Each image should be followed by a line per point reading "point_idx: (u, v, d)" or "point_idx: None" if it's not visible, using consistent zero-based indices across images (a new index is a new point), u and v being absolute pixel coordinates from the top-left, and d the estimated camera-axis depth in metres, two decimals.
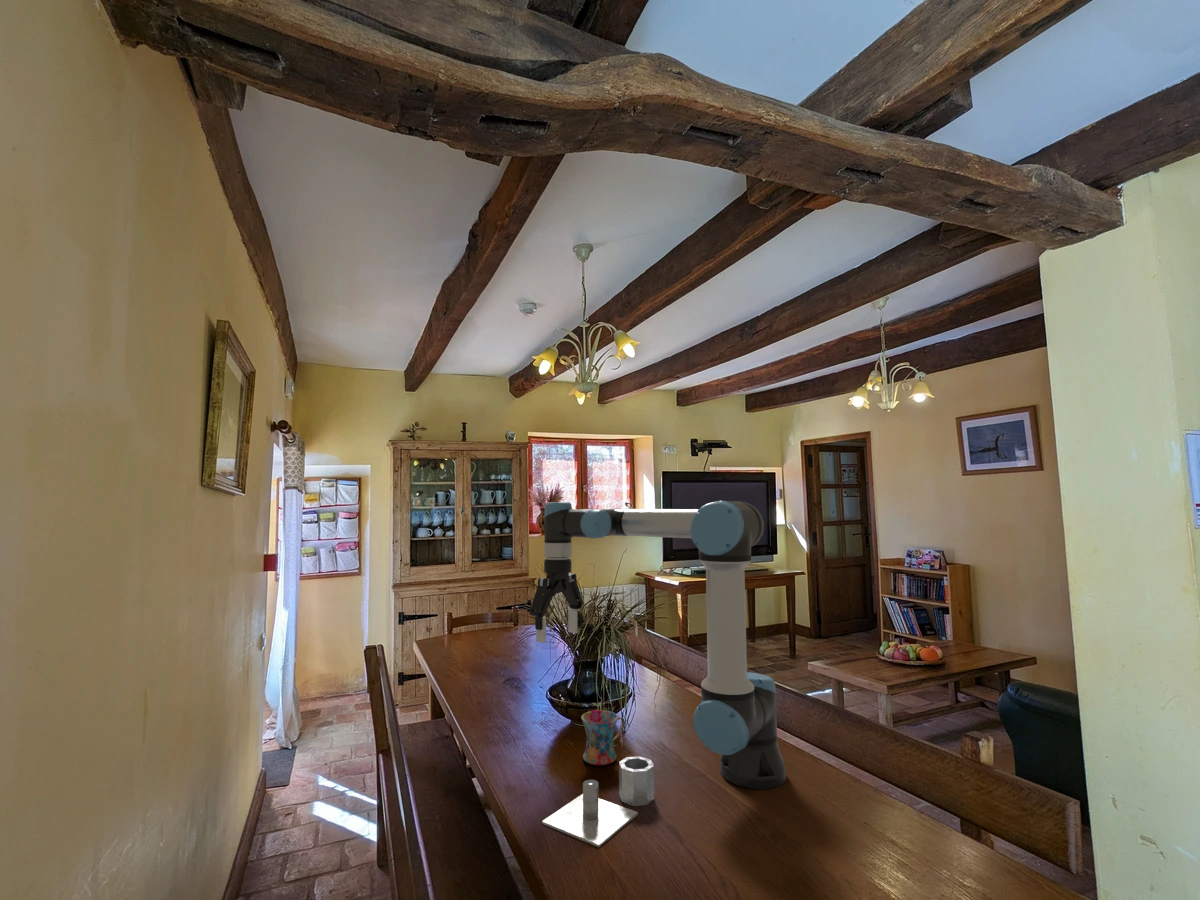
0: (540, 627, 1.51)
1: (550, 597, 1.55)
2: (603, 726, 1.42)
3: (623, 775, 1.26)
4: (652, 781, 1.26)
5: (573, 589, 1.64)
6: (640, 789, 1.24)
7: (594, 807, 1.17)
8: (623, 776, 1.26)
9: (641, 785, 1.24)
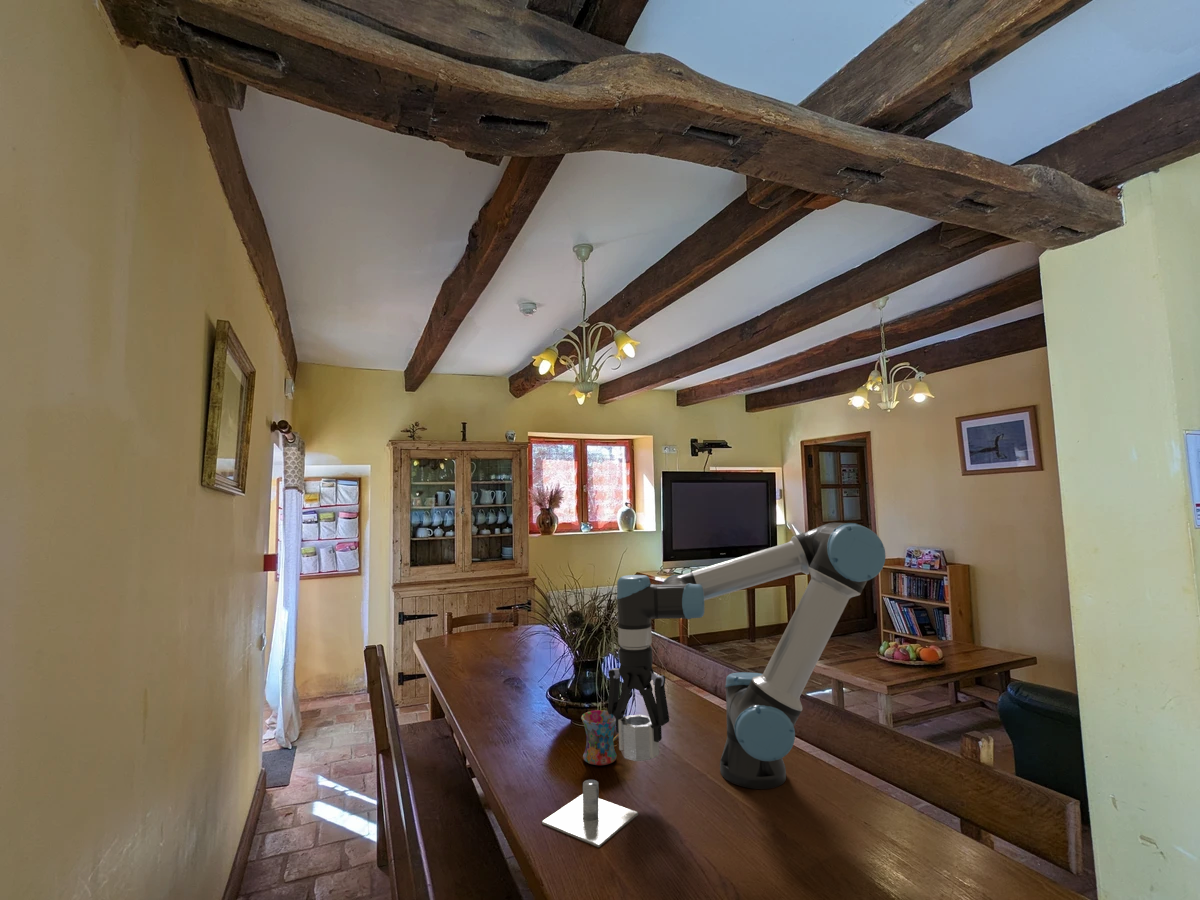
0: (617, 729, 1.31)
1: (622, 694, 1.30)
2: (603, 726, 1.42)
3: (625, 731, 1.26)
4: None
5: None
6: (642, 744, 1.25)
7: (594, 807, 1.17)
8: (625, 732, 1.26)
9: (643, 740, 1.25)
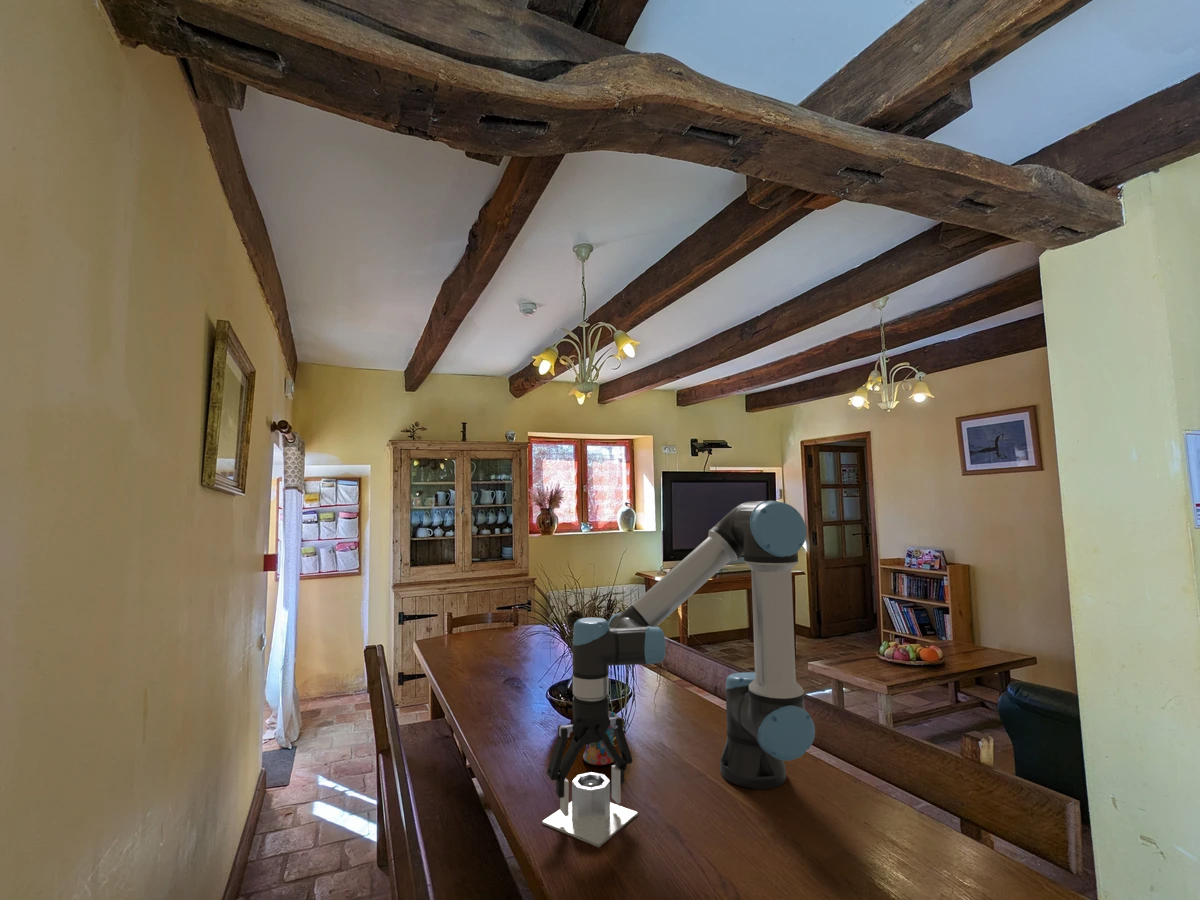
0: (560, 794, 1.16)
1: (575, 752, 1.17)
2: None
3: (593, 797, 1.15)
4: None
5: (618, 739, 1.22)
6: (607, 803, 1.18)
7: None
8: (593, 798, 1.15)
9: (607, 798, 1.18)
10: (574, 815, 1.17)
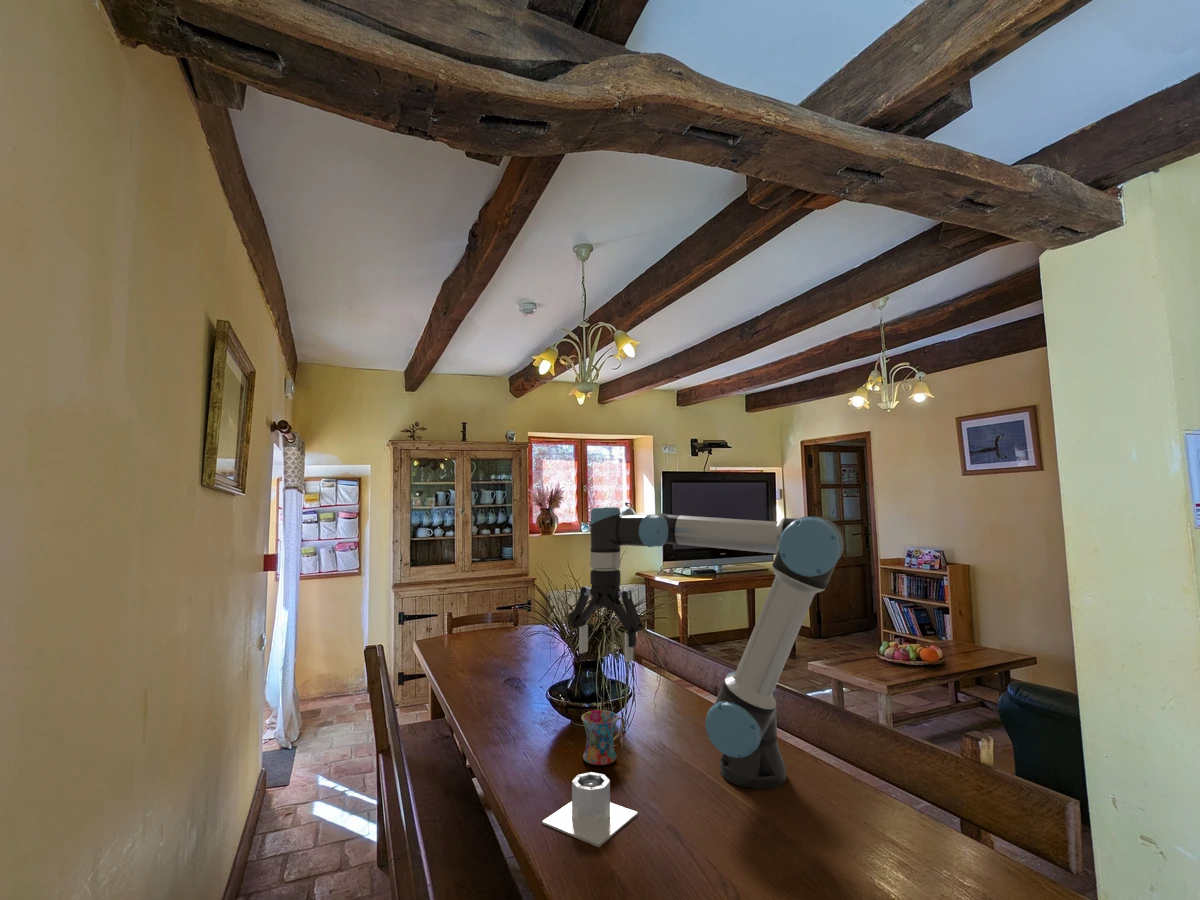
0: (578, 636, 1.47)
1: (588, 608, 1.46)
2: (603, 726, 1.42)
3: (593, 797, 1.15)
4: None
5: None
6: (607, 803, 1.18)
7: None
8: (593, 798, 1.15)
9: (607, 798, 1.18)
10: (574, 815, 1.17)
